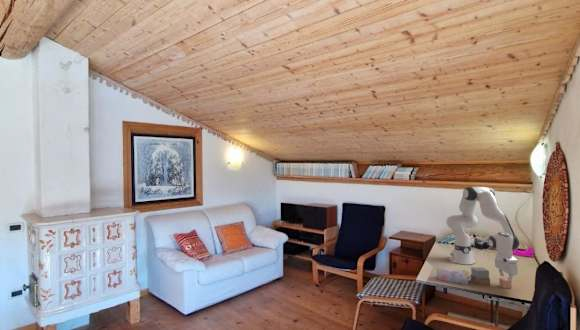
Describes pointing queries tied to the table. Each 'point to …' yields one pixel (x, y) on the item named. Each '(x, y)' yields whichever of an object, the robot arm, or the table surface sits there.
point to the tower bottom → (480, 280)
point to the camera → (480, 243)
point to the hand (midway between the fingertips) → (505, 278)
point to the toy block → (524, 252)
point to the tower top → (479, 272)
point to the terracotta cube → (505, 283)
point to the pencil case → (453, 275)
